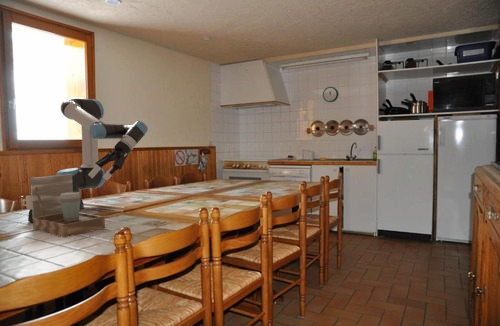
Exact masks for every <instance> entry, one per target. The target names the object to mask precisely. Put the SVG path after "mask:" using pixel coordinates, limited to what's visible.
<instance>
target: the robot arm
mask: <svg viewBox="0 0 500 326" xmlns="http://www.w3.org/2000/svg"><path fill="white" fill-rule="evenodd" d="M60 112H61V113H62V115H63V116H64V117H65V118H67V119H69V120H72V121H75V122H76V123H77V124H79V125H80V126H81V150H82V164H81V165H80V167H79V168H78V167H73V168H72V167H71V168H65V169H60V170H59V171H57V172H56V175H55V176H58V175H69V174H72V184H73V192H80V193H81V191H82V190H87V189H96V188H101V187H102V186H103V185H104V183H105V182H106V181H107V182H108V181H109V180H110V178H111V177H112V176H113V175H114V173H116V171H118V170H122V168H123V166H124V163H125V161H126V159H127V157H128V156H129V154H130V153H131V151H132V150H133V149H134V148H135V147H136V146H137V144H138V143H139V142H140V141H141V139H143V137H144V136H145V135H146V133H147V132H148V131H149V128H148V126H147V125H146V123H145V122H143V121H141V120H137V121H136V122H135V123H133V124H130V125H129V124H113V123H112V124H111V123H110V124H109V123H105V122H103V121H102V120H101V119H102V118H103V117H104V113H105V112H104V106H103V104H102V103H101V102H100V101H99V100H98V99H93V98H86V97H85V98H83V97H75V96H73V97H68V98H66V99H65V100H63V101H62V103H61V105H60ZM102 139H103V140H105V139H106V140H108V139H109V140H111V139H113V140H115V139H117V140H119V141H118V142H116V144H115V145H114V147H113V149H114V150H113V151H112V150H109V151H108V152H107V153H106V154H104V156H102V157H101V158H99V146H98V145H99V144H98V141H99V140H102ZM111 162H113V164H112V166H111V167H110V168H108V170H107V171H106V172H105V170H104V169H103V168H102V167H104V166H106V165H108V164H109V163H111ZM84 208H85V203H84V201H83V199H82V197H81V198H80V210H82V209H84Z"/></svg>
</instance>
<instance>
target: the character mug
mask: <svg viewBox="0 0 500 326" xmlns="http://www.w3.org/2000/svg"><path fill="white" fill-rule="evenodd" d="M22 206H23V207H26V209H27V210H29V212H28V216H27V222H30V223H33V216H32V198H31V194H29V195H26V196H25V198H24V199H22Z"/></svg>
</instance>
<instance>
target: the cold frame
mask: <svg viewBox="0 0 500 326" xmlns="http://www.w3.org/2000/svg"><path fill="white" fill-rule="evenodd" d="M29 180H30V193H31V194H30V195H31V198H32V216H33V222H32V229H33V230H34V229H35V231H39V232H42V233H45V234H49V233H50V235H53V234H54V236H57V235H58V237H61V236H62V237H61V238H69V237H72V235H73V236H76V235H82V234H84V233H85V234H86V233H89V232H93V231H97V230H101V229H105V228H106V221H105V219H106V218H105V216H104V215H97V214H92V213H87V212H82V211H81V212H80V211H79V220H76V221H69V222H67V221H64V218H63V212H62V206H61V201H60V199H59V198H60V195H61V194H62V193H67V192H73V184H72V174H69V175H58V176H56V175H49V176H48V175H47V176H39V177H38V176H37V177H30V179H29ZM68 236H69V237H68Z"/></svg>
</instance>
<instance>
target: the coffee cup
mask: <svg viewBox="0 0 500 326" xmlns="http://www.w3.org/2000/svg"><path fill="white" fill-rule="evenodd" d="M80 198H81V199H82V195H81V191H80V192H67V193H62V194H61V195H60V198H59V199H60V201H61V206H62V212H63V218H64V221H67V222H69V221H76V220H79V212H80V210H81V209H80Z"/></svg>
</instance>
